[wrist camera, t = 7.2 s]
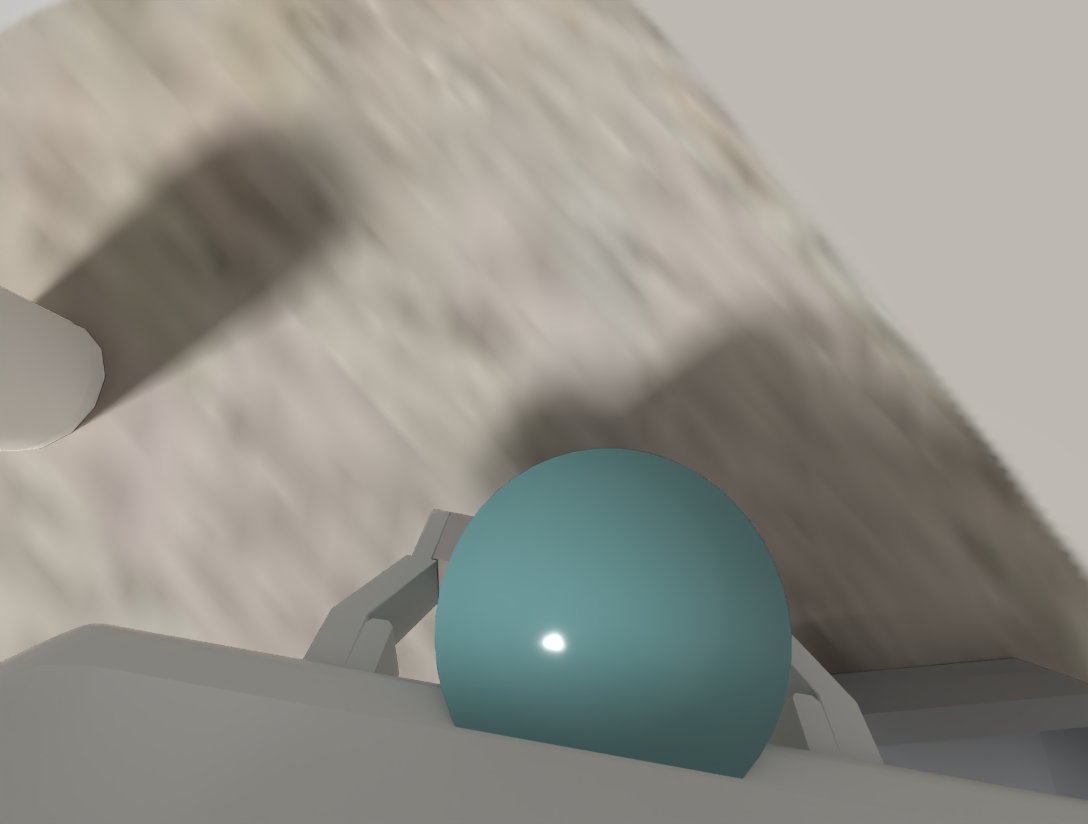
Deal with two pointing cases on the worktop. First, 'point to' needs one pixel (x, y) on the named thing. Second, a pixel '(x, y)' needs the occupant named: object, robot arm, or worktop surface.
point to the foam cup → (43, 374)
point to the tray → (980, 722)
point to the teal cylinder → (616, 616)
